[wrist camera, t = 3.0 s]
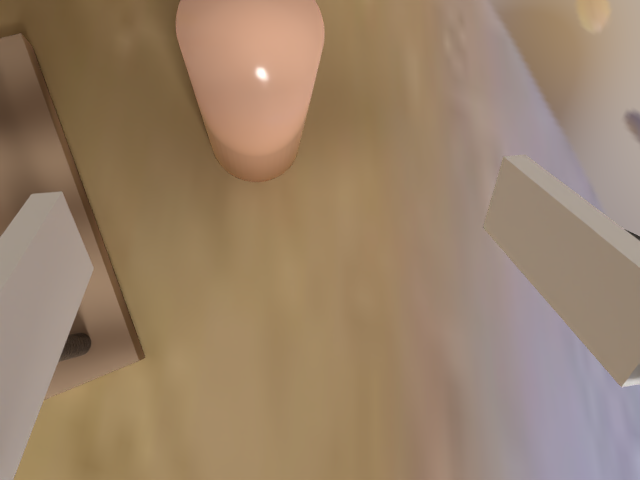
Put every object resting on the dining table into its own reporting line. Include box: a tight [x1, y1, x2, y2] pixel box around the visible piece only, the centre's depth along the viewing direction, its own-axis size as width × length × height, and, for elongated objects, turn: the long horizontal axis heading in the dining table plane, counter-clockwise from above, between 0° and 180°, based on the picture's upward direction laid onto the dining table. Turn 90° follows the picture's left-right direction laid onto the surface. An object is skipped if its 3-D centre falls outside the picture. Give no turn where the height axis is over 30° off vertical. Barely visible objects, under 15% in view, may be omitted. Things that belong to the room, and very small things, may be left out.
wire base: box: [0, 33, 145, 400], centre depth 23 cm, size 20×5×1 cm, turn 22°
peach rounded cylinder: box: [176, 0, 325, 182], centre depth 21 cm, size 6×6×11 cm
